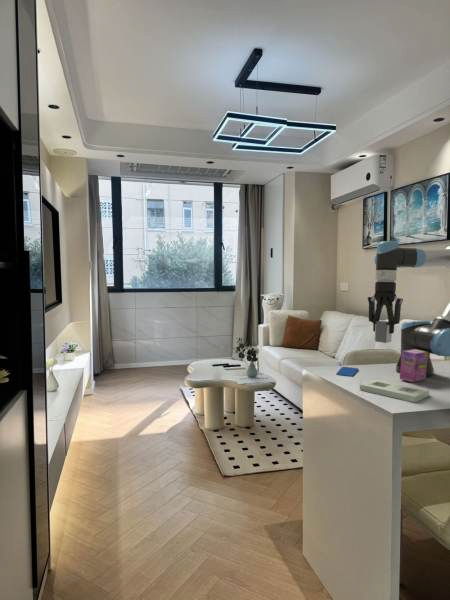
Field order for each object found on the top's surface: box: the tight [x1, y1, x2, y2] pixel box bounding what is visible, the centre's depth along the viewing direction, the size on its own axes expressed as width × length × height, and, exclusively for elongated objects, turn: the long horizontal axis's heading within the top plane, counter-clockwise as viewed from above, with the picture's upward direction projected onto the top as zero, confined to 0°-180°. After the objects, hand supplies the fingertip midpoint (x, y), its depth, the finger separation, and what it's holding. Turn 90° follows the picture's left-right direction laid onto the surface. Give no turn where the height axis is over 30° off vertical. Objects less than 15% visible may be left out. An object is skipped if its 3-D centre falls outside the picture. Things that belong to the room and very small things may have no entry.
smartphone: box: [335, 366, 359, 378], centre depth 174 cm, size 7×1×15 cm
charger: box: [374, 320, 389, 344], centre depth 154 cm, size 4×4×8 cm
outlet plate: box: [359, 378, 430, 403], centre depth 142 cm, size 12×20×2 cm, turn 42°
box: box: [399, 349, 428, 383], centre depth 160 cm, size 10×6×12 cm, turn 126°
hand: (382, 340), depth 154 cm, fingers closed on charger, 4 cm apart
